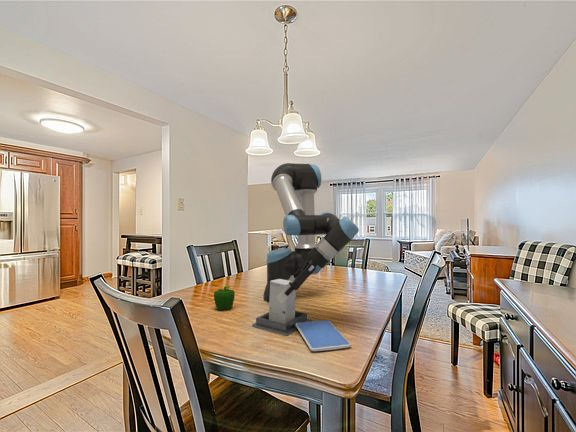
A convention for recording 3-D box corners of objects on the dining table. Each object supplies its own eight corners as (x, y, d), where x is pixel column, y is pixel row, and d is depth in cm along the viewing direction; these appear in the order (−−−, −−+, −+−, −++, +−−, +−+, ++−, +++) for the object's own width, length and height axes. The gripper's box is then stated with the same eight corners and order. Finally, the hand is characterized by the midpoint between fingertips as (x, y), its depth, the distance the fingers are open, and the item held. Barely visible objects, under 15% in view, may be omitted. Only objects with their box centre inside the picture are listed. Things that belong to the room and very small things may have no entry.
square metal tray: (252, 326, 104) (251, 318, 104) (278, 313, 118) (278, 306, 118) (286, 336, 96) (286, 326, 96) (311, 321, 109) (311, 313, 109)
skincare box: (268, 321, 107) (268, 280, 107) (279, 317, 112) (279, 277, 112) (286, 326, 102) (285, 284, 102) (296, 321, 106) (296, 280, 106)
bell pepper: (210, 309, 125) (210, 285, 125) (226, 304, 131) (226, 282, 131) (221, 313, 119) (221, 288, 119) (238, 308, 125) (237, 285, 125)
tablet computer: (294, 325, 102) (294, 322, 102) (328, 322, 105) (328, 318, 105) (311, 353, 84) (311, 349, 83) (352, 348, 86) (352, 344, 86)
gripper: (332, 267, 92) (285, 314, 94) (328, 256, 117) (291, 293, 118) (315, 250, 93) (269, 297, 94) (314, 242, 118) (277, 280, 119)
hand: (281, 295), depth 106 cm, fingers open, 13 cm apart
